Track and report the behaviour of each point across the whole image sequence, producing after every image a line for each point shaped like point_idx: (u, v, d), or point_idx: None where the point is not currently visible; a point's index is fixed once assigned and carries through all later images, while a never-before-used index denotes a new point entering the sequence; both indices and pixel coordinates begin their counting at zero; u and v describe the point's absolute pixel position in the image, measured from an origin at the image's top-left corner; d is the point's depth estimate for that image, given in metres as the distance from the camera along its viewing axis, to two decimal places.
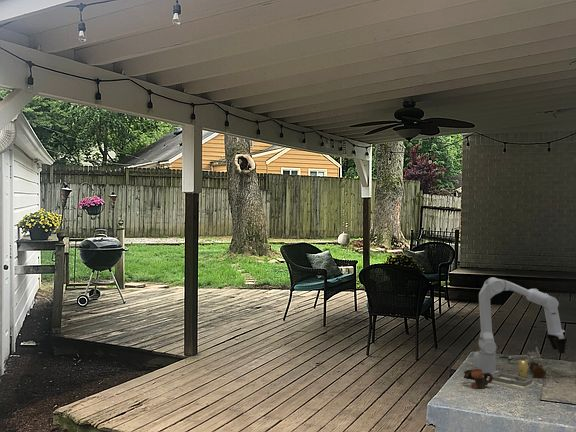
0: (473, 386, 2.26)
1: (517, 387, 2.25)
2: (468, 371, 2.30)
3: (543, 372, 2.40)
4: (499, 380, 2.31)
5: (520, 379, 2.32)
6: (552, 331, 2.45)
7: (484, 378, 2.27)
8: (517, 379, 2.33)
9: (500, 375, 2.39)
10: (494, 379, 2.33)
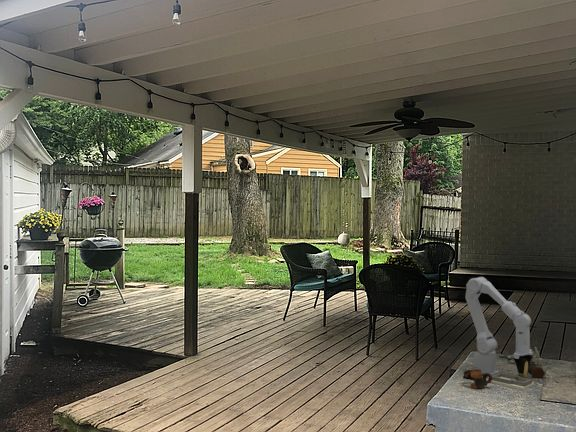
0: (472, 386, 2.25)
1: (517, 387, 2.25)
2: (467, 371, 2.29)
3: (543, 372, 2.40)
4: (499, 380, 2.31)
5: (520, 379, 2.32)
6: (516, 350, 2.40)
7: (483, 378, 2.27)
8: (517, 379, 2.33)
9: (500, 375, 2.39)
10: (494, 379, 2.33)
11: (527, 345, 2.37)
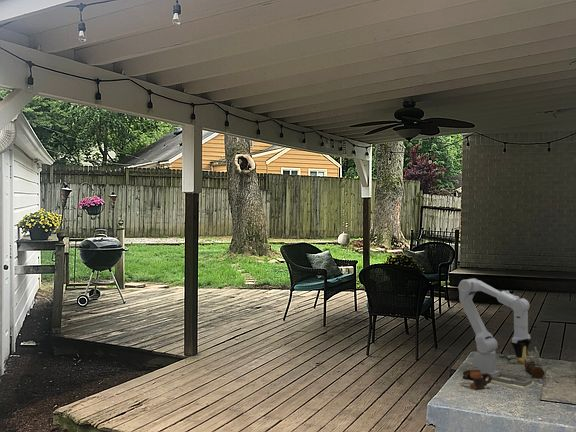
0: (472, 387, 2.25)
1: (517, 387, 2.25)
2: (467, 372, 2.29)
3: (542, 372, 2.40)
4: (499, 380, 2.31)
5: (520, 379, 2.32)
6: (514, 334, 2.39)
7: (483, 379, 2.26)
8: (517, 379, 2.33)
9: (500, 375, 2.39)
10: (494, 379, 2.33)
11: (525, 329, 2.37)
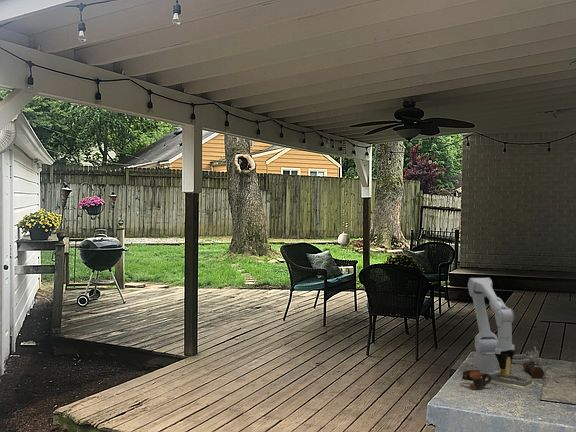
0: (472, 387, 2.24)
1: (517, 387, 2.25)
2: (466, 372, 2.29)
3: (542, 372, 2.40)
4: (499, 380, 2.31)
5: (520, 379, 2.32)
6: (498, 345, 2.35)
7: (482, 379, 2.26)
8: (517, 379, 2.33)
9: (500, 375, 2.39)
10: (494, 379, 2.33)
11: (509, 340, 2.32)
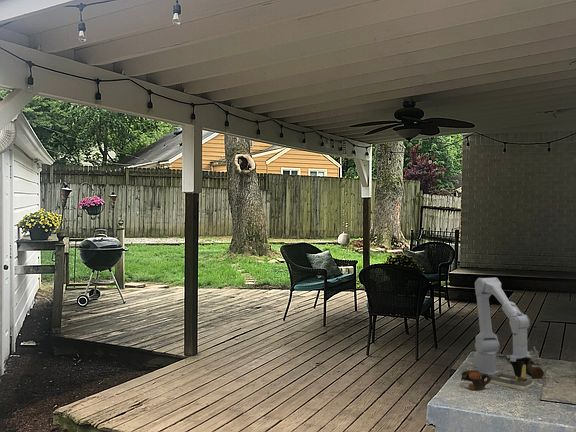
0: (471, 387, 2.24)
1: (517, 387, 2.25)
2: (466, 372, 2.28)
3: (542, 372, 2.40)
4: (499, 380, 2.31)
5: None
6: (513, 352, 2.30)
7: (482, 379, 2.25)
8: None
9: (500, 375, 2.39)
10: (494, 379, 2.33)
11: (524, 347, 2.27)
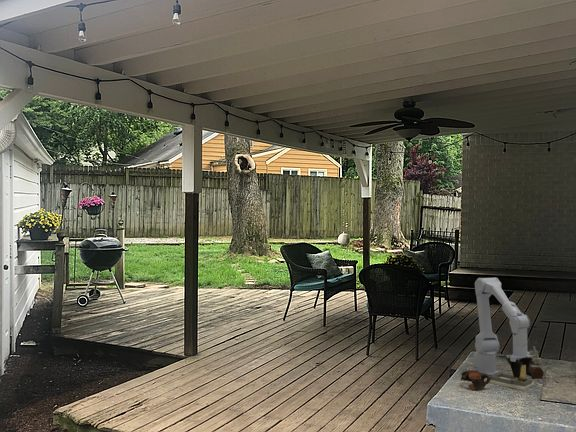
0: (471, 388, 2.23)
1: (517, 387, 2.25)
2: (465, 373, 2.28)
3: (542, 372, 2.40)
4: (499, 380, 2.31)
5: None
6: (513, 352, 2.30)
7: (481, 379, 2.25)
8: None
9: (500, 375, 2.39)
10: (494, 379, 2.33)
11: (525, 347, 2.27)
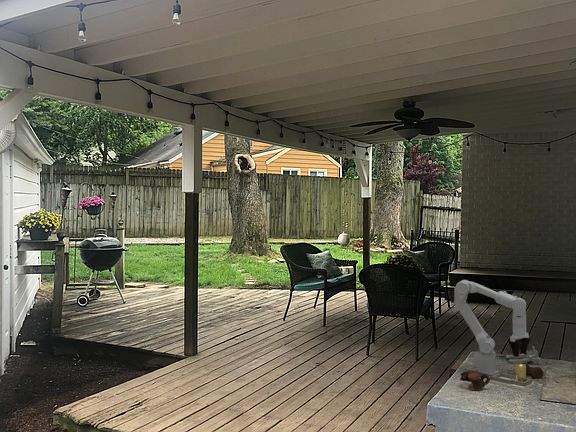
0: (470, 388, 2.23)
1: (517, 387, 2.25)
2: (465, 373, 2.27)
3: (542, 372, 2.40)
4: (499, 380, 2.31)
5: None
6: (513, 333, 2.44)
7: (481, 380, 2.25)
8: None
9: (500, 375, 2.39)
10: (494, 379, 2.33)
11: (523, 328, 2.42)
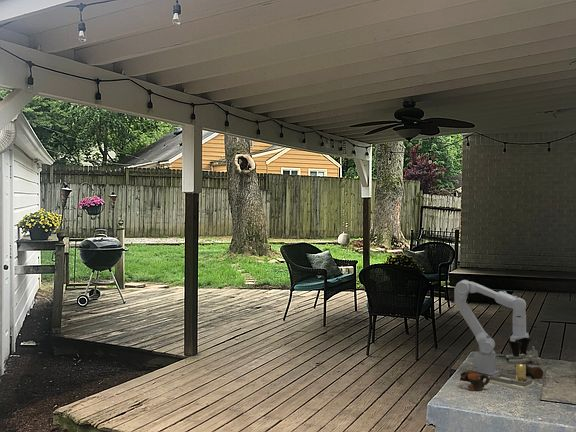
0: (470, 388, 2.23)
1: (517, 387, 2.25)
2: (464, 373, 2.27)
3: (541, 372, 2.40)
4: (499, 380, 2.31)
5: None
6: (513, 333, 2.44)
7: (481, 380, 2.24)
8: None
9: (500, 375, 2.39)
10: (494, 379, 2.33)
11: (523, 328, 2.42)
